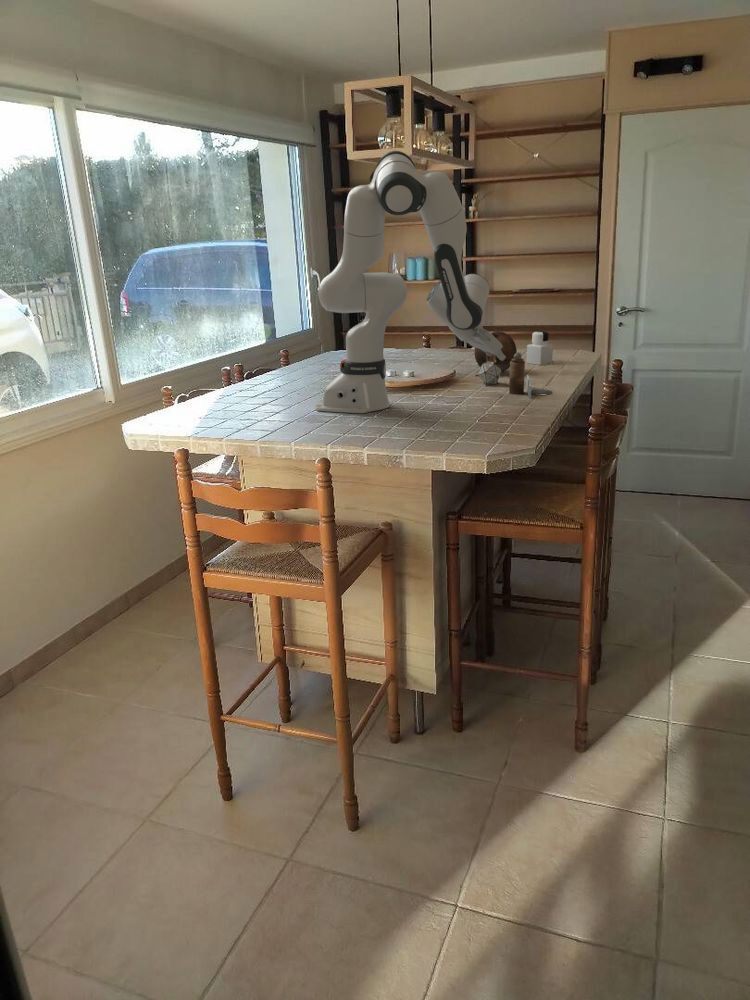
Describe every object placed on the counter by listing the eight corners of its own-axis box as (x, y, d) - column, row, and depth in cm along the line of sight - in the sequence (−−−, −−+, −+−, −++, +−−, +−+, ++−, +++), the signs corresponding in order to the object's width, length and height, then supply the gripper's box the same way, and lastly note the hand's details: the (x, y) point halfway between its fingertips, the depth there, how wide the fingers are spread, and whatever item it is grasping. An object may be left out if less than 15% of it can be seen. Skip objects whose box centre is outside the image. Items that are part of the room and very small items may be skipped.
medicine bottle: (537, 361, 297) (539, 330, 293) (552, 363, 292) (554, 331, 288) (525, 363, 293) (527, 332, 289) (540, 365, 288) (542, 333, 284)
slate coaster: (529, 395, 239) (529, 393, 239) (528, 390, 246) (528, 389, 246) (552, 395, 238) (552, 393, 238) (550, 390, 245) (550, 389, 245)
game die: (494, 395, 257) (506, 375, 250) (471, 387, 256) (482, 366, 249) (496, 378, 263) (508, 357, 255) (473, 370, 262) (484, 349, 254)
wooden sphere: (488, 367, 286) (489, 327, 281) (523, 371, 277) (525, 330, 272) (466, 374, 276) (466, 332, 271) (501, 378, 266) (502, 335, 261)
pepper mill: (509, 394, 241) (510, 354, 237) (508, 391, 245) (510, 351, 241) (524, 394, 240) (525, 353, 236) (523, 391, 245) (524, 351, 240)
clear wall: (528, 398, 234) (529, 386, 233) (526, 387, 251) (526, 375, 249) (530, 398, 234) (531, 386, 233) (528, 387, 251) (528, 375, 249)
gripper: (488, 322, 220) (518, 353, 226) (463, 315, 239) (491, 344, 245) (473, 338, 221) (503, 369, 226) (449, 330, 240) (478, 359, 245)
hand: (497, 356), depth 236 cm, fingers open, 8 cm apart
